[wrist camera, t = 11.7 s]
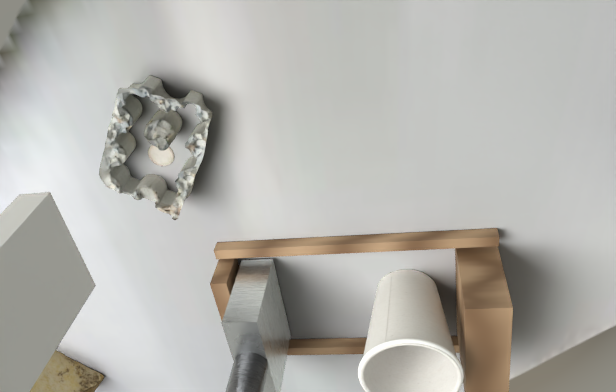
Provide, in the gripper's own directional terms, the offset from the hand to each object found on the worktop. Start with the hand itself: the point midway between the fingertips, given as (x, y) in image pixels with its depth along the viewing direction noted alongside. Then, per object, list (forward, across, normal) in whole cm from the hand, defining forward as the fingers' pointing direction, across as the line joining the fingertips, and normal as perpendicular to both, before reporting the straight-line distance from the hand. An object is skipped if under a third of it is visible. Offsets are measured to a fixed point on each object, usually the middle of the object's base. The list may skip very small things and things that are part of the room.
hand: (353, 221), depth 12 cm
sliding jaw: (+31, -14, -31) cm, 46 cm away
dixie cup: (+32, -1, -31) cm, 44 cm away
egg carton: (+32, -20, -13) cm, 39 cm away
